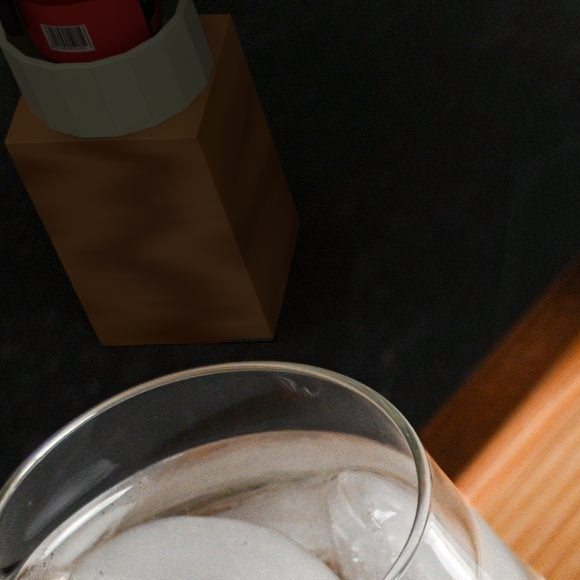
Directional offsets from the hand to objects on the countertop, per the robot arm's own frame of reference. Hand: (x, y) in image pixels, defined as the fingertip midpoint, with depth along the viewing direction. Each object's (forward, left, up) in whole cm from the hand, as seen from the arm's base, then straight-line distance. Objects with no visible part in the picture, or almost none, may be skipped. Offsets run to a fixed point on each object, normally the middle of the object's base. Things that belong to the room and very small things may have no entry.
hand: (87, 12), depth 113 cm
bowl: (-1, +3, -7) cm, 8 cm away
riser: (-1, +3, -24) cm, 24 cm away
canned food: (-1, +3, -4) cm, 5 cm away
